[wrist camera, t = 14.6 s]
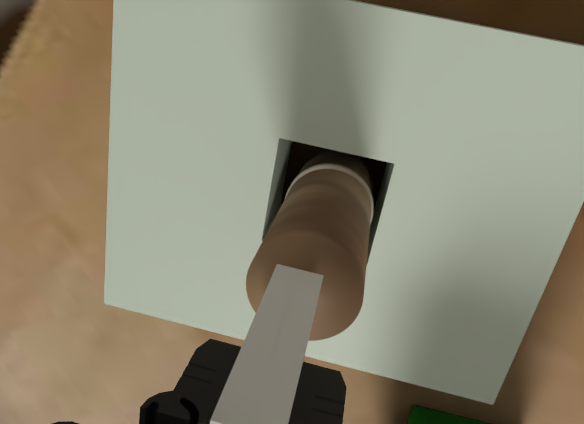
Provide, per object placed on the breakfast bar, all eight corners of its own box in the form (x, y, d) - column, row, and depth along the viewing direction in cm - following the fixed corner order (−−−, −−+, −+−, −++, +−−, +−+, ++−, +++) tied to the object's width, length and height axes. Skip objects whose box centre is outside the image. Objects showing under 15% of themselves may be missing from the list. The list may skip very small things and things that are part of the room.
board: (142, 262, 34) (103, 303, 29) (162, -38, 26) (114, -46, 22) (478, 346, 32) (493, 405, 27) (599, 47, 24) (646, 58, 20)
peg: (296, 197, 30) (236, 325, 18) (310, 129, 28) (252, 221, 17) (366, 213, 30) (350, 355, 18) (384, 145, 28) (379, 251, 16)
